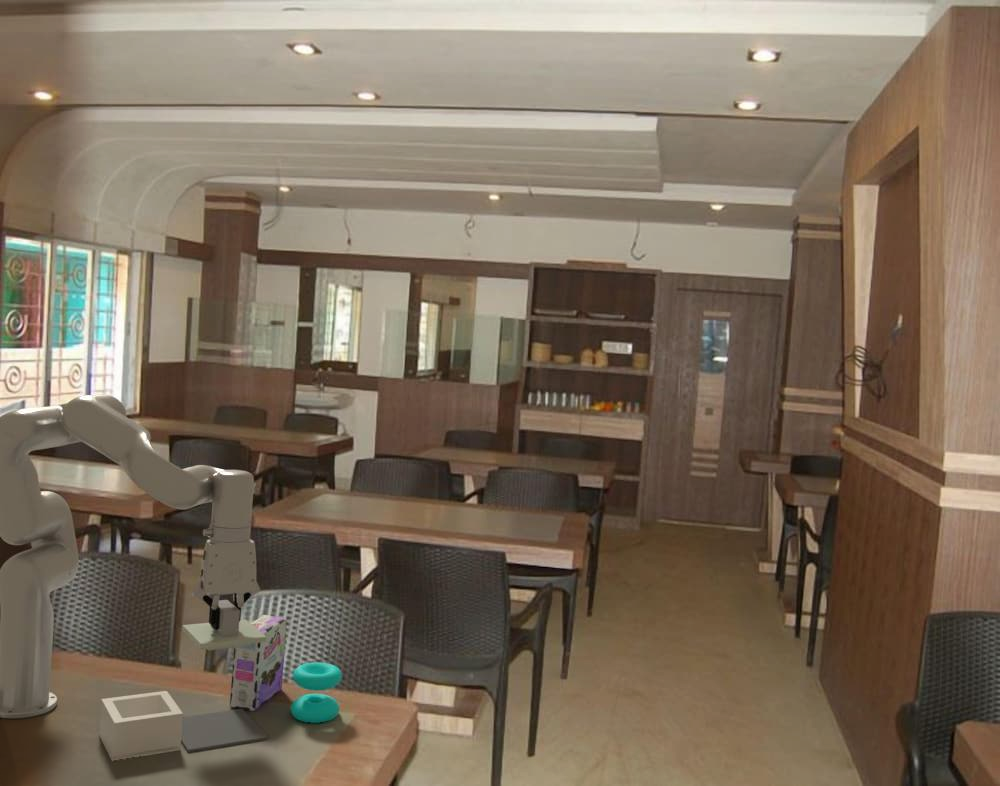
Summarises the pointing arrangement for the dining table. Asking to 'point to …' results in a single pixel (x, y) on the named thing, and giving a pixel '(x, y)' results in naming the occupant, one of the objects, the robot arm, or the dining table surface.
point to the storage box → (140, 725)
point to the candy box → (259, 665)
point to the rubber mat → (219, 730)
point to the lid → (225, 631)
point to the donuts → (316, 705)
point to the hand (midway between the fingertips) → (224, 625)
